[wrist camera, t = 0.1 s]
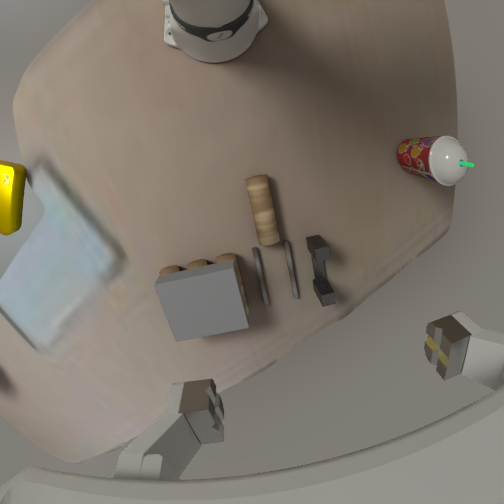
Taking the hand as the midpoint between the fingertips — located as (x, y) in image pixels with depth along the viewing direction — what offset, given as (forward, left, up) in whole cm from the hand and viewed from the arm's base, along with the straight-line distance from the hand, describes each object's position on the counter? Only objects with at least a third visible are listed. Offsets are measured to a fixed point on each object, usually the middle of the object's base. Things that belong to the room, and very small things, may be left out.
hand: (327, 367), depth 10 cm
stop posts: (+17, +9, -48) cm, 52 cm away
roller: (+4, +1, -48) cm, 49 cm away
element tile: (-14, -54, -49) cm, 74 cm away
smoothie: (-1, +32, -48) cm, 58 cm away
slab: (+17, -13, -44) cm, 49 cm away
